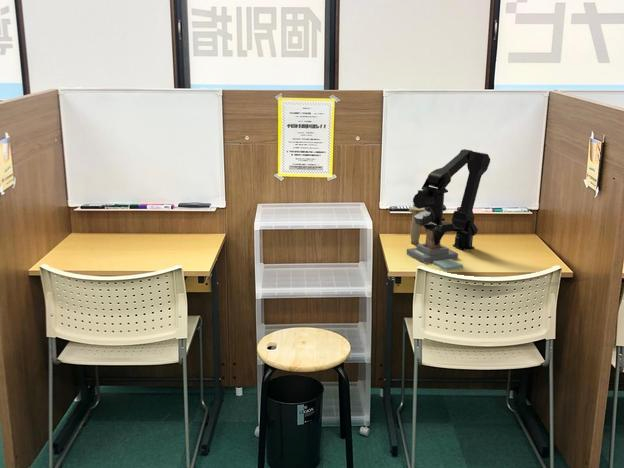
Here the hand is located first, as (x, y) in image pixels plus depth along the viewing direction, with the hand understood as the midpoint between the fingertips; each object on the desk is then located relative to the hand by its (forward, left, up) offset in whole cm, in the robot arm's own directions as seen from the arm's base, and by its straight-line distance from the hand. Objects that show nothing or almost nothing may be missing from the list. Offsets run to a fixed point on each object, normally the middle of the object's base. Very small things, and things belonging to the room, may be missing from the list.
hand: (433, 243), depth 265 cm
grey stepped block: (0, 0, -5) cm, 5 cm away
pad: (+1, +12, -5) cm, 13 cm away
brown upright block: (0, 0, -2) cm, 2 cm away
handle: (-3, -17, -6) cm, 18 cm away
